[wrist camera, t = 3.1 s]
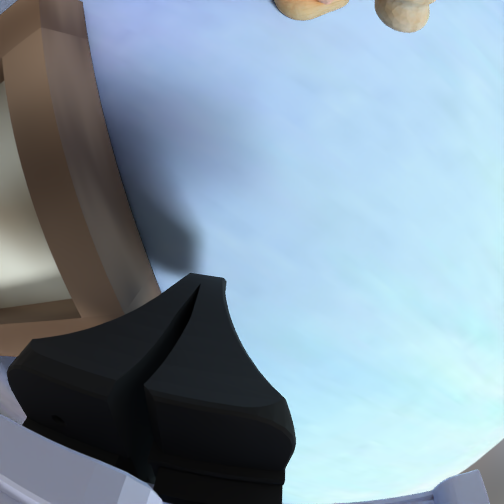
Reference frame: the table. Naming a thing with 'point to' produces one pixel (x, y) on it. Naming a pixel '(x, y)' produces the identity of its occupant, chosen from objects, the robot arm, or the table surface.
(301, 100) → the table surface
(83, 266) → the picture frame
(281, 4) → the grandmother figurine
